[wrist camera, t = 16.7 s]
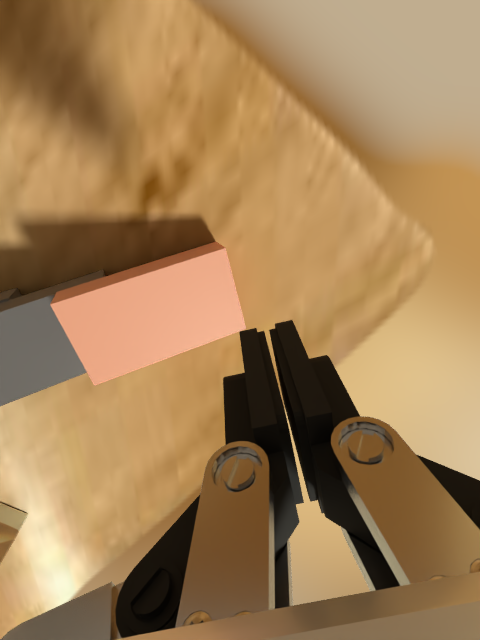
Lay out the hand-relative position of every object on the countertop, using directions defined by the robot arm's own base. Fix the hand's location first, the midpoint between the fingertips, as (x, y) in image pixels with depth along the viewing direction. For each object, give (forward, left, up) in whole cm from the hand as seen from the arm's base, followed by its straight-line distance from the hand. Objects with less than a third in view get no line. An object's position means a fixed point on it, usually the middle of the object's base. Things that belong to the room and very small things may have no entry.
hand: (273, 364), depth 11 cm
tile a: (+1, -8, -10) cm, 13 cm away
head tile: (+1, -2, -10) cm, 10 cm away
